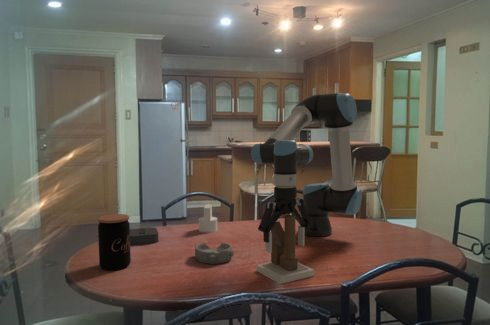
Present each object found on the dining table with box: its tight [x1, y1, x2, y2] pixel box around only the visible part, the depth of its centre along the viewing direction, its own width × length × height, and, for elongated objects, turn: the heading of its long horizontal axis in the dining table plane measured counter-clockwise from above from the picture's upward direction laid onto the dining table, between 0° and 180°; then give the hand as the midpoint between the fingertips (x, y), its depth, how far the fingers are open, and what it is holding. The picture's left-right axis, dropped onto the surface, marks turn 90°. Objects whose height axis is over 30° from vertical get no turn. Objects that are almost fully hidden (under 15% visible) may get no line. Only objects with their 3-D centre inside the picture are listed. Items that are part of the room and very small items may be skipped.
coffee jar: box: [97, 213, 132, 272], centre depth 145 cm, size 11×11×18 cm
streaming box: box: [130, 227, 159, 246], centre depth 178 cm, size 13×13×4 cm
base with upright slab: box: [198, 204, 219, 233], centre depth 195 cm, size 9×9×12 cm
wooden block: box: [270, 214, 298, 271], centre depth 138 cm, size 4×11×18 cm, turn 31°
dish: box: [194, 242, 235, 265], centre depth 153 cm, size 14×14×5 cm
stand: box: [256, 261, 315, 285], centre depth 138 cm, size 14×14×2 cm
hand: (285, 248), depth 138 cm, fingers open, 13 cm apart
